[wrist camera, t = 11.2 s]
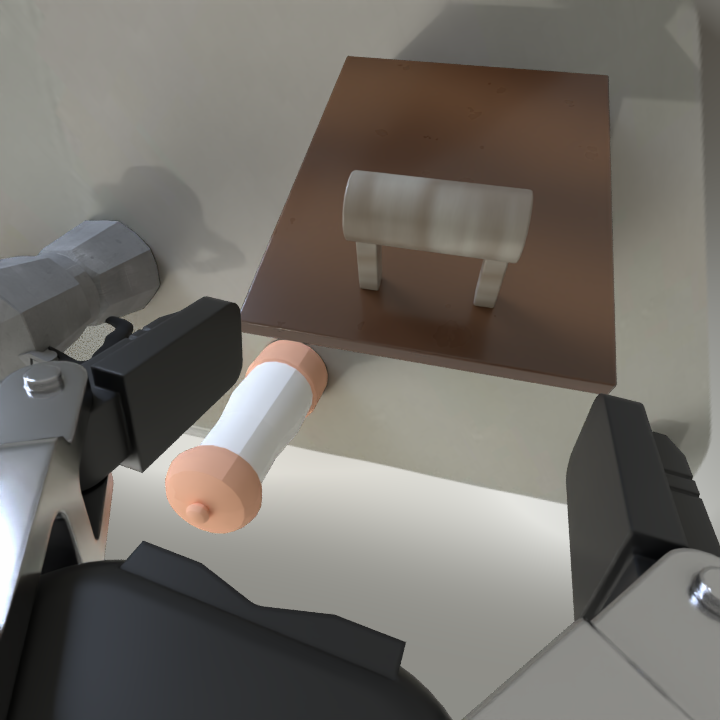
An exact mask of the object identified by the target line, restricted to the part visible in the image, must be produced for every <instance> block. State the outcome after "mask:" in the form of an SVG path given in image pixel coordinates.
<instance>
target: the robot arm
mask: <svg viewBox="0 0 720 720" xmlns="http://www.w3.org/2000/svg"><path fill="white" fill-rule="evenodd" d="M242 362H243V358H242V331H241V312H240V308H239V306H238V305H237V304H236V303H232V302H228V301H224V300H220V299H216V298H212V297H207V296H206V297H202V298H201V299H199V300H197V301H196V302H194V303H192V304H191V305H189V306H188V307H186V308H184V309H183V310H181V311H179V312H176V313H173V314H169V315H166V316H163V317H160V318H158V319H156V320H155V321H153V322H151V323H149V324H148V325H146V326H144V327H143V330H140V329H139V330H138V331H136V332H134V333H133V334H131V335H129V338H124V339H123V340H121V341H119V342H118V343H116V344H114V345H113V346H111V347H109V348H108V349H106V350H104V351H103V352H101V353H99V354H98V355H96V356H94V357H93V358H91V359H89V360H87V361H86V362H84V363H82V364H81V365H79V364H77V363H74V362H69V361H48V362H41V363H36V364H32V365H29V366H26V367H23V368H21V369H18V370H16V371H14V372H13V373H11V374H9V375H8V376H6V377H5V378H4V379H3V380H2V381H0V720H452V718H451V717H450V716H449V714H448V713H447V712H446V710H445V708H444V707H443V706H442V705H441V704H440V702H439V701H438V700H437V699H436V698H435V697H434V695H433V694H432V693H431V692H430V691H429V690H428V689H427V688H426V687H425V686H424V685H423V684H422V683H421V682H420V681H419V680H417V679H416V678H415V677H414V676H413V675H412V674H410V673H409V672H408V671H406V670H405V669H404V668H402V667H401V666H400V664H401V660H402V656H403V652H404V647H405V643H406V642H404V641H401V640H399V639H396V638H393V637H391V636H388V635H386V634H383V633H380V632H378V631H375V630H373V629H370V628H368V627H365V626H362V625H360V624H357V623H355V622H352V621H350V620H347V619H344V618H342V617H339V616H337V615H332V614H323V613H315V612H307V611H298V610H289V609H280V608H272V607H263V606H258V605H256V604H254V603H252V602H251V601H249V600H248V599H247V598H245V597H244V596H243V595H241V594H240V593H239V592H238V591H236V590H235V589H234V588H233V587H231V586H230V585H229V584H227V583H226V582H225V581H224V580H222V579H221V578H220V577H218V576H217V575H216V574H215V573H213V572H212V571H211V570H209V569H208V568H207V567H206V566H204V565H203V564H202V563H199V562H197V561H194V560H192V559H189V558H187V557H184V556H181V555H179V554H176V553H174V552H171V551H169V550H166V549H163V548H161V547H158V546H156V545H153V544H150V543H148V542H145V541H142V543H141V544H140V545H139V546H138V547H137V548H136V550H135V551H134V552H133V553H132V554H131V555H130V556H129V557H128V558H127V560H105V550H106V541H107V533H108V524H109V517H110V508H111V500H112V492H113V477H112V473H111V472H112V471H113V470H114V469H115V468H116V467H117V466H119V465H121V466H124V467H127V468H130V469H133V470H136V471H139V472H141V473H143V472H144V471H145V470H146V469H147V468H148V467H149V466H150V465H151V464H152V463H153V462H154V461H155V460H156V459H157V458H158V457H159V456H160V455H161V454H163V453H164V452H165V451H166V450H167V449H168V448H169V447H170V446H171V445H172V444H173V443H174V442H175V441H176V440H177V439H178V438H179V437H180V436H181V435H182V434H183V433H184V432H185V431H186V430H188V429H189V428H190V427H191V426H192V425H193V424H194V423H195V422H196V421H197V420H198V419H199V418H200V417H201V416H202V415H203V414H204V413H205V412H206V411H207V410H208V409H209V408H210V407H211V406H213V405H214V404H215V403H216V402H217V401H218V400H219V399H220V398H221V397H222V396H223V395H224V394H225V393H226V392H227V391H228V390H229V389H230V388H231V387H232V386H233V385H234V384H235V383H236V381H237V380H238V378H239V375H240V373H241V369H242ZM692 478H693V475H692V473H691V470H690V468H689V465H688V463H687V460H686V457H685V455H684V454H683V453H682V452H681V451H680V450H679V449H678V448H677V447H676V446H675V444H674V443H673V442H672V441H671V440H670V439H669V438H668V437H667V436H666V435H663V434H659V433H655V432H652V430H651V427H650V424H649V421H648V418H647V414H646V411H645V408H644V406H643V404H642V403H640V402H635V401H631V400H627V399H623V398H619V397H615V396H611V395H607V394H603V393H600V394H599V395H598V396H597V397H596V399H595V400H594V402H593V404H592V407H591V409H590V411H589V414H588V416H587V418H586V421H585V423H584V425H583V428H582V430H581V432H580V434H579V437H578V439H577V441H576V444H575V446H574V448H573V451H572V453H571V456H570V459H569V463H568V468H567V475H566V489H567V505H568V520H569V521H568V522H569V537H570V552H571V553H570V554H571V571H572V587H573V603H574V620H575V622H573V623H572V624H571V625H570V626H569V627H567V628H566V629H565V630H564V631H563V632H562V633H561V634H559V635H558V637H556V638H555V639H554V640H553V641H551V642H550V643H549V644H548V645H547V646H546V647H544V648H543V650H541V651H540V652H539V653H538V654H536V655H535V656H534V657H533V658H532V659H531V660H530V661H529V662H527V663H526V664H525V665H524V666H523V667H522V668H520V669H519V670H518V671H517V672H516V673H515V674H514V675H512V676H511V677H510V678H509V679H508V680H507V681H505V682H504V683H503V684H502V685H501V686H500V687H499V688H497V689H496V690H495V691H494V692H493V693H492V694H490V695H489V696H488V697H487V698H486V699H485V700H484V701H483V702H481V703H480V704H479V705H478V706H477V707H476V708H474V709H473V710H472V711H471V712H470V713H469V714H468V715H466V716H465V717H464V718H463V719H462V720H720V545H719V542H718V540H717V537H716V535H715V532H714V529H713V527H712V524H711V522H710V520H709V517H708V514H707V512H706V509H705V506H704V504H703V501H702V499H700V498H699V495H700V493H699V491H698V489H697V486H696V483H695V481H693V480H692Z"/></svg>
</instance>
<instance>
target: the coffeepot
mask: <svg viewBox="0 0 720 720" xmlns="http://www.w3.org/2000/svg"><path fill="white" fill-rule="evenodd" d="M159 286H160V282H159V274H158V268H157V265H156V262H155V259H154V257H153V255H152V253H151V249H150V248H149V247H148V246H147V245H146V243H145V242H144V241H143V240H142V239H141V238H140V237H139V236H138V235H137V234H136V233H134V232H133V231H132V230H131V229H129V228H127V227H126V226H124V225H123V224H122V223H120V222H119V221H107V220H101V221H84V222H83V223H81V224H79V225H78V226H76V227H75V228H73V229H72V230H70V231H69V232H67V233H66V234H64V235H63V236H61V237H60V238H58V239H57V240H55V241H54V242H52V243H51V244H49V245H48V246H46V247H45V248H43V249H42V250H41V251H40V253H39V254H38V255H37V256H17V257H12V258H7V259H1V260H0V381H2V380H3V379H4V378H5V377H6V376H8V375H9V374H11V373H13V372H14V371H16V370H18V369H21V368H23V367H26V366H29V365H32V364H36V363H41V362H48V361H69V362H74V363H77V364H79V365H81V364H82V363H84V362H86V361H77V360H75V359H73V358H71V357H69V356H68V355H66V354H64V353H63V352H64V351H65V350H66V349H67V348H68V347H70V346H71V345H72V344H73V343H74V342H75V341H76V340H77V339H78V338H79V337H80V336H81V334H82V333H83V331H84V330H85V328H86V327H87V326H97V325H100V324H102V323H105V322H106V323H108V324H110V325H112V326H113V327H115V328H116V329H115V331H113V332H112V333H110V334H109V335H107V336H106V338H105V342H104V344H103V345H102V346H101V347H100V348H99V349H98V350H97V351H96V352H95V353H94V354H93V356H92V358H93V357H94V356H96V355H98V354H99V353H101V352H103V351H104V350H106V349H108V348H109V347H111V346H113V345H114V344H116V343H118V342H119V341H121V340H123V339H124V338H129V335H131V334H132V332H133V325H132V324H131V323H130V322H128V321H127V320H124V319H121V318H119V317H122V316H124V315H127V314H130V313H133V312H136V311H138V310H141V309H144V308H145V306H146V305H147V303H148V302H149V301H150V300H151V298H152V297H153V296H154V294H155V292H156V291H157V289H158V288H159Z"/></svg>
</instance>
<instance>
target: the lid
mask: <svg viewBox="0 0 720 720" xmlns="http://www.w3.org/2000/svg"><path fill="white" fill-rule="evenodd" d="M240 312H241V331H242V332H243V333H249V334H255V335H261V336H266V337H272V338H278V339H284V340H289V341H295V342H301V343H307V344H313V345H318V346H324V347H330V348H336V349H341V350H347V351H353V352H359V353H365V354H370V355H376V356H382V357H388V358H393V359H399V360H405V361H411V362H416V363H422V364H428V365H434V366H440V367H445V368H451V369H457V370H463V371H468V372H474V373H480V374H486V375H491V376H497V377H503V378H509V379H515V380H520V381H526V382H532V383H538V384H543V385H549V386H555V387H561V388H567V389H572V390H578V391H584V392H590V393H595V394H600V393H603V394H607V395H608V394H609V393H610V392H611V391H612V390H613V389H614V388H615V387H616V385H617V378H616V341H615V303H614V266H613V229H612V191H611V154H610V117H609V79H608V76H607V75H595V74H581V73H568V72H554V71H541V70H527V69H514V68H500V67H487V66H474V65H460V64H447V63H433V62H420V61H406V60H393V59H380V58H366V57H353V56H347V58H346V60H345V63H344V65H343V67H342V70H341V72H340V75H339V77H338V79H337V82H336V84H335V86H334V89H333V91H332V94H331V96H330V98H329V101H328V103H327V106H326V108H325V110H324V113H323V115H322V117H321V120H320V122H319V125H318V127H317V129H316V132H315V134H314V136H313V139H312V141H311V144H310V146H309V148H308V151H307V153H306V156H305V158H304V160H303V163H302V165H301V167H300V170H299V172H298V175H297V177H296V179H295V182H294V184H293V186H292V189H291V191H290V194H289V196H288V198H287V201H286V203H285V205H284V208H283V210H282V213H281V215H280V217H279V220H278V222H277V225H276V227H275V229H274V232H273V234H272V236H271V239H270V241H269V244H268V246H267V248H266V251H265V253H264V255H263V258H262V260H261V263H260V265H259V267H258V270H257V272H256V274H255V277H254V279H253V282H252V284H251V286H250V289H249V291H248V294H247V296H246V298H245V301H244V303H243V305H242V308H241V310H240Z"/></svg>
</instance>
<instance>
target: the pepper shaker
mask: <svg viewBox="0 0 720 720" xmlns="http://www.w3.org/2000/svg"><path fill="white" fill-rule="evenodd" d="M327 379H328V374H327V370H326V366H325V364H324V362H323V361H322V359H321V357H320V356H319V355H318V354H317V353H316V352H315V351H314V350H313V349H312V348H310V347H309V346H307V345H305V344H303V343H301V342H295V341H289V340H278V341H276V342H273V343H271V344H269V345H268V346H267V347H266V348H265V349H264V350H263V351H262V352H261V353H260V355H259V356H258V357H257V358H256V359H255V360H254V362H253V363H252V364H251V365H250V366H249V368H248V370H247V373H246V375H245V379H244V380H243V381H242V382H241V383H240V384H239V386H238V387H237V388H236V389H235V390H234V391H233V393H232V395H231V397H230V399H229V401H228V403H227V405H226V407H225V409H224V411H223V413H222V415H221V417H220V419H219V421H218V422H217V424H216V425H215V426H214V427H213V429H212V430H211V431H210V433H209V434H208V435H207V436H206V438H205V439H204V440H203V442H202V443H201V444H200V445H199V446H197V447H194V448H191V449H189V450H186V451H184V452H182V453H180V454H179V455H178V456H177V457H176V458H175V459H174V460H173V461H172V462H171V464H170V467H169V469H168V472H167V476H166V478H165V486H166V495H167V499H168V501H169V503H170V505H171V507H172V508H173V509H174V510H175V512H176V513H177V514H178V515H179V516H180V517H182V518H183V519H184V520H185V521H187V522H188V523H189V524H191V525H193V526H195V527H197V528H199V529H201V530H204V531H208V532H211V533H228V532H233V531H235V530H238V529H240V528H242V527H244V526H245V525H247V524H248V523H249V522H250V521H252V520H253V519H254V517H256V515H257V513H258V511H259V510H260V508H261V502H262V486H261V483H262V482H263V480H264V478H265V476H266V474H267V473H268V471H269V469H270V467H271V466H272V464H273V462H274V461H275V459H276V458H277V456H278V455H279V454H280V453H281V452H282V451H283V449H284V448H285V447H286V446H287V445H288V444H289V443H290V441H291V440H292V439H293V438H294V437H295V436H296V434H297V433H298V431H299V429H300V427H301V425H302V423H303V421H304V419H305V418H306V417H307V416H308V415H309V414H310V413H312V412H313V410H314V408H315V407H316V405H317V403H318V401H319V399H320V397H321V395H322V393H323V391H324V389H325V387H326V386H327Z"/></svg>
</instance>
